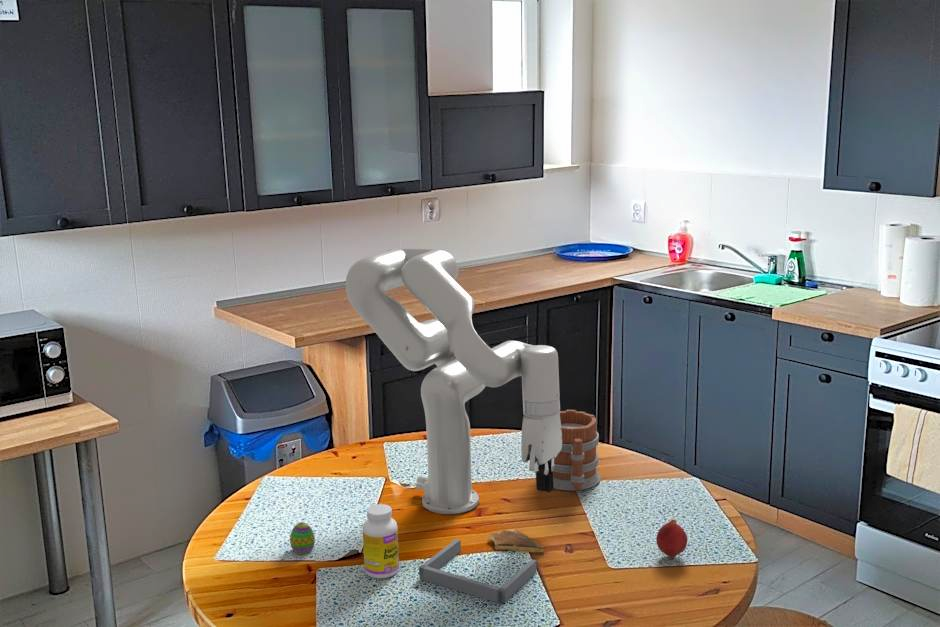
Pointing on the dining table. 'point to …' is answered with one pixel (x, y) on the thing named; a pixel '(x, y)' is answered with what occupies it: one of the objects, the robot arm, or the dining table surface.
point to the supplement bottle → (380, 542)
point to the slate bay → (470, 586)
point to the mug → (577, 452)
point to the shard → (514, 541)
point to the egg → (302, 538)
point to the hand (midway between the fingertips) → (545, 489)
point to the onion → (671, 539)
